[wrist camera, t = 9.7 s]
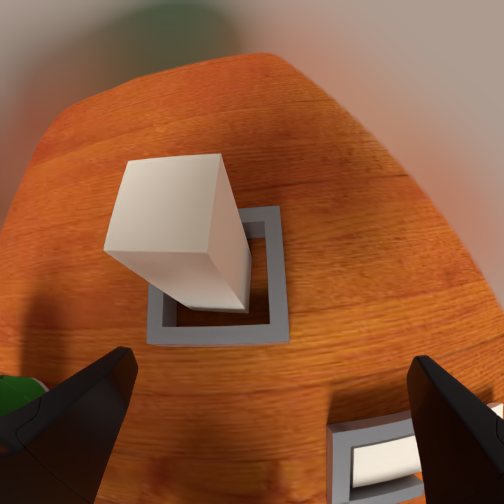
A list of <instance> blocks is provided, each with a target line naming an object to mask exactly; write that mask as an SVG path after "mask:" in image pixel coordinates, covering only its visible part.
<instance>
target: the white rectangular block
mask: <svg viewBox="0 0 504 504" xmlns="http://www.w3.org/2000/svg"><path fill="white" fill-rule="evenodd" d="M103 251H105V252H106V253H107V254H109V255H110V256H112V257H113V258H114V259H116V260H117V261H119V262H120V263H122V264H123V265H124V266H126V267H127V268H129V269H130V270H132V271H133V272H135V273H136V274H137V275H139V276H140V277H142V278H143V279H145V280H146V281H148V282H149V283H151V284H152V285H154V286H155V287H157V288H158V289H160V290H161V291H163V292H164V293H166V294H168V295H169V296H171V297H172V298H174V299H175V300H177V301H178V302H180V303H182V304H183V305H185V306H186V307H188V308H190V309H191V310H198V311H213V312H229V313H249V298H250V283H251V268H252V256H251V253H250V249H249V246H248V243H247V239H246V236H245V233H244V229H243V226H242V223H241V219H240V216H239V213H238V209H237V206H236V203H235V199H234V196H233V193H232V189H231V186H230V183H229V179H228V176H227V173H226V169H225V166H224V163H223V159H222V156H221V154H203V155H187V156H174V157H163V158H152V159H143V160H134V161H128V164H127V167H126V170H125V173H124V176H123V179H122V183H121V186H120V189H119V192H118V196H117V199H116V203H115V206H114V210H113V213H112V217H111V221H110V225H109V229H108V233H107V237H106V241H105V245H104V250H103Z"/></svg>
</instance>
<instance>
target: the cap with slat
mask: <svg viewBox="0 0 504 504" xmlns="http://www.w3.org/2000/svg"><path fill="white" fill-rule="evenodd" d="M487 406H488V407H489V408H491V409H492V410H493V411H494V412H495V413H496V414H497V415H499V416H500V417H501V418H502V417H503V403H489V404H487ZM420 471H422V470H421V464H420V459H419V453H418V448H417V443H416V438H415V434H414V429H413V424H412V418H411V410H407V411H403V412H398V413H394V414H389V415H384V416H379V417H374V418H368V419H362V420H356V421H349V422H342V423H335V424H327V491H326V501H327V504H396V503H399V502H403V501H406V500H410V499H413V498H416V497H419V496H422V495H423V490H424V483H423V482H422V481H421V480H420V479H419V478H417V477H416V476H415V475H413V474H414V473H417V472H420ZM350 484H351V485H350Z"/></svg>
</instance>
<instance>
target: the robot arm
mask: <svg viewBox="0 0 504 504" xmlns="http://www.w3.org/2000/svg"><path fill="white" fill-rule="evenodd" d="M137 373H138V365H137V362H136V359H135V357H134V354H133V351H132V349H131V348H128V347H122V346H120V347H117V348H116V349H114V350H113V351H111V352H109V353H108V354H106V355H105V356H103V357H102V358H100V359H98V360H97V361H95V362H94V363H92V364H90V365H89V366H87V367H86V368H84V369H82V370H81V371H79V372H78V373H76V374H74V375H73V376H71V377H70V378H68V379H66V380H65V381H63V382H62V383H60V384H58V385H57V386H55V387H54V388H52V389H50V390H49V391H47V392H46V393H44V394H42V396H39V397H37V398H36V399H34V400H33V401H31V402H29V403H27V404H26V405H24V406H22V407H20V408H18V409H17V410H15V411H13V412H11V413H9V414H7V415H5V416H2V417H0V504H94V501H95V498H96V495H97V492H98V489H99V486H100V483H101V480H102V477H103V474H104V471H105V468H106V466H107V463H108V460H109V457H110V454H111V452H112V449H113V446H114V443H115V441H116V438H117V435H118V433H119V430H120V427H121V425H122V422H123V420H124V417H125V415H126V412H127V409H128V406H129V402H130V398H131V395H132V391H133V387H134V384H135V380H136V377H137ZM407 386H408V394H409V402H410V410H411V418H412V424H413V429H414V434H415V438H416V443H417V448H418V453H419V459H420V464H421V470H422V476H423V483H424V490H425V497H426V504H504V420H503V419H502V418H501V417H500V416H499V415H497V414H496V413H495V412H494V411H493V410H492V409H491V408H489V407H488V406H487V405H486V404H485V403H484V402H482V401H481V400H480V399H479V398H478V397H477V396H475V395H474V394H473V393H472V392H471V391H470V390H468V389H467V388H466V387H465V386H464V385H462V384H461V383H460V382H459V381H458V380H456V379H455V378H454V377H453V376H452V375H450V374H449V373H448V372H447V371H446V370H444V369H443V368H442V367H441V366H440V365H438V364H437V363H436V362H435V361H434V360H432V359H431V358H430V357H429V356H427V355H420V356H415V357H414V359H413V361H412V363H411V366H410V368H409V371H408V373H407Z"/></svg>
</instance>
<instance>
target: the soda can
mask: <svg viewBox="0 0 504 504" xmlns="http://www.w3.org/2000/svg"><path fill="white" fill-rule="evenodd" d="M47 391H49V389H48V388H47V387H46V386H45V385H44V384H43V383H42V382H41V381H39V380H37V379H35V378H30V377H18V376H8V375H0V417H2V416H5V415H7V414H9V413H11V412H13V411H15V410H17V409H18V408H20V407H22V406H24V405H26V404H27V403H29V402H31V401H33V400H34V399H36V398H37V397H39V396H42V394H44V393H46V392H47Z"/></svg>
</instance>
